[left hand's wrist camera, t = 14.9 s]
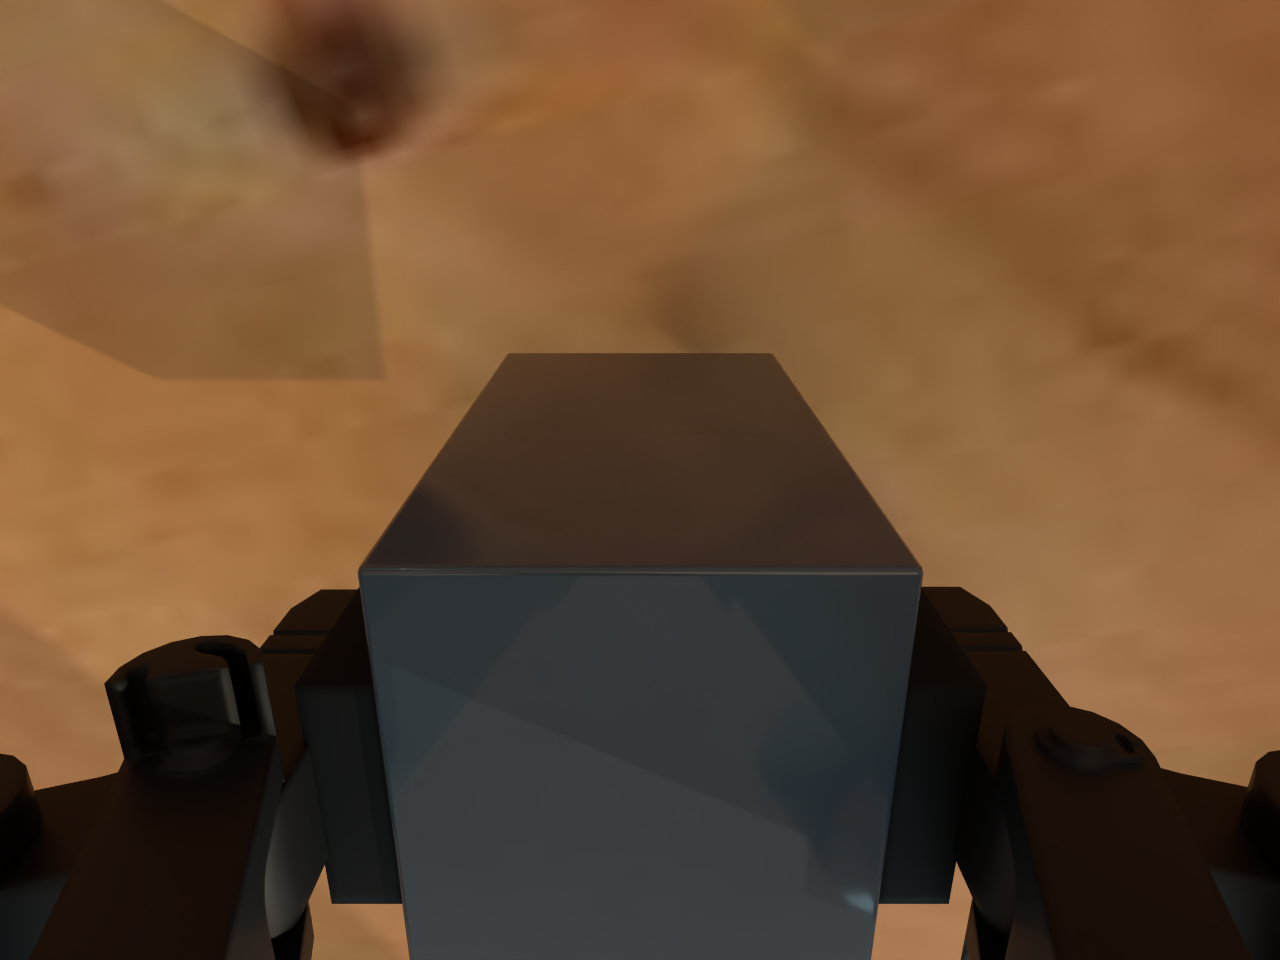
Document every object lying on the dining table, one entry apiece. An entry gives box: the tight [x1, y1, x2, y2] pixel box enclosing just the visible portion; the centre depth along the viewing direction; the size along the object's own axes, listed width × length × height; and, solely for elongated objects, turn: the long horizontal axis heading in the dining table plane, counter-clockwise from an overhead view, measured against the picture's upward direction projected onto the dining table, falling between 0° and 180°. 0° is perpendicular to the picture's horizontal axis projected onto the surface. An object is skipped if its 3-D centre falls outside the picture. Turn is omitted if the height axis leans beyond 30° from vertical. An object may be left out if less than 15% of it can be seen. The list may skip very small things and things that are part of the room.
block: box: [358, 353, 923, 960], centre depth 12 cm, size 5×6×9 cm
